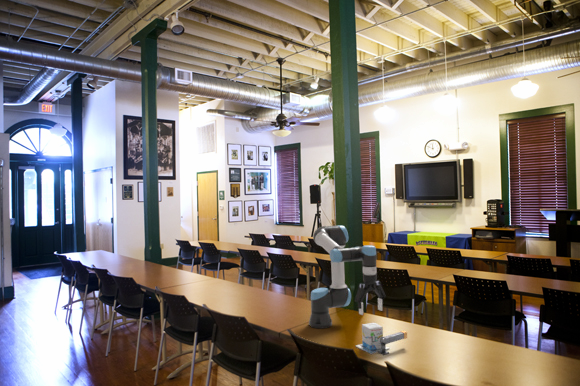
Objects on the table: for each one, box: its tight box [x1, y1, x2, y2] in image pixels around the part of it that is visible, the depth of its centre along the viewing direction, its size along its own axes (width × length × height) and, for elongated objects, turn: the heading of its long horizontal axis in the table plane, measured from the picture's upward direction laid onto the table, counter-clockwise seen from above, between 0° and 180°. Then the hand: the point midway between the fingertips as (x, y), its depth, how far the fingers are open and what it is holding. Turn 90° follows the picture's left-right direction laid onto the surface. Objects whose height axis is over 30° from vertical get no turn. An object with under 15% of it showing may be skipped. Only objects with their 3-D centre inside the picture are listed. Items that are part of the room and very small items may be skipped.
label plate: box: [355, 343, 391, 355], centre depth 213 cm, size 13×13×1 cm
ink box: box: [361, 322, 384, 350], centre depth 214 cm, size 9×8×12 cm
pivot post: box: [377, 344, 390, 356], centre depth 205 cm, size 4×4×5 cm
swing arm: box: [380, 330, 408, 345], centre depth 210 cm, size 18×3×3 cm, turn 122°
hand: (370, 312), depth 214 cm, fingers open, 13 cm apart
